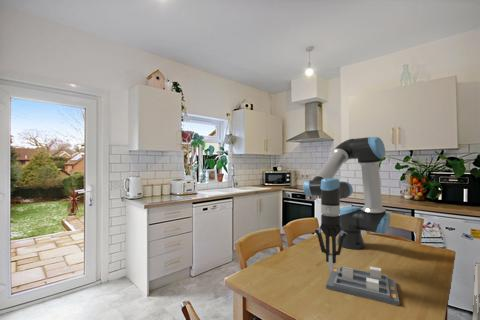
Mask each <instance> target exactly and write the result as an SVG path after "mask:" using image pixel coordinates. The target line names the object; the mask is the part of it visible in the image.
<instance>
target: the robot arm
mask: <svg viewBox="0 0 480 320" xmlns="http://www.w3.org/2000/svg"><path fill="white" fill-rule="evenodd" d="M385 156H386V148H385V144H384V142H383V140H382V138H381V137H378V136H369V137H358V138H350V139H346V140H344V141H343V142H341V143H340V144H338V145H337V146H336V147H335V148H334V149H333V150H332V151H331V155H330V157H329V158H328V160H326V161H325V163H324V165H323V166H322V167H321V168H320V169H319V171H318V172H317V173H316V175H315V176H314V177H313V178H312V179H307V180H305V181H304V182H303V185H302V190H303V193H304V194H305V195H307V196H311V197H320V200H321V201H320V213H321V215H320V216H321V217H320V220H321V222H320V223H321V224H320V226H319V227H318V228H315V230H314V232H315V233H316V236H317V239H318V242H319V247H320V251H321V253H323V254H325V262H326V263H328V272H331V271H332V272H333V269H334V268H335V267H334V264H336V262H337V256H340V255H341V252H342V248H343V249H344V248H346V249H350V250H361V249H362V250H363V249H364V248H365V241H364V238H363V236H362V235H363V234H362V231H365V232H369V233H375V234H380V235H384V234H386V233H387V232H388V231H389V228H390V225H391V214H390V213H388V212H386V208H385V207H384V206H383V203H382V202H383V201H382V200H383V199H382V190H381V176H380V166H379V165H380V164H381V162H382V161H383V160H382V159H384V158H385ZM349 160H357V163H358V164H359V165H361V166H360V168H361V179H362V188H363V189H362V190H363V200H364V206H363V207H362V208H361V207H360V206H344V207H341V205H340V204H341V203H340V200H341V199H347V198H349V197H350V196H351V195H352V194H353V191H354V188H353V186H352V184H351V183H349V182H348V181H341V180H340V179H339V178H334V177H335V175H336V174H337V172H338V171H339V170H340V168H342V165H343V164H345V163H347V162H348V161H349ZM322 233H323V234H324V236H325V243H324V238H323V234H322ZM330 237H331V239H330ZM330 240H331V241H330ZM330 242H331V245H330ZM337 245H338V247H337ZM330 246H331V247H330ZM330 248H331V250H332V252H331V250H330Z"/></svg>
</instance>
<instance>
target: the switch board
mask: <svg viewBox="0 0 480 320" xmlns="http://www.w3.org/2000/svg"><path fill="white" fill-rule="evenodd" d="M343 267H344V266H341V265H339V266H338V268H337V267H334V269H333V272H332V271H330V274H329V277H328V279H327V282H326V284H325V285H326V286H325V288H326V289H327V290H332V291H335V292H340V293H344V294H348V295H352V296H357V297H361V298H365V299H367V300H368V299H369V300H373V301H377V302H381V303H385V304H390V305H394V306H400V300H399V293H398V288H397V283H396V279H394V278H390V277H388V275H387V274H382V273H381V279H379V278H374V277H370V271H366V270H362V269H361V270H360V269H355V268H352V269H353V279H348V278H344V277H342V268H343ZM366 278H371V279H376V280H379V292H376V291H371V290H367V289H366Z"/></svg>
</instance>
